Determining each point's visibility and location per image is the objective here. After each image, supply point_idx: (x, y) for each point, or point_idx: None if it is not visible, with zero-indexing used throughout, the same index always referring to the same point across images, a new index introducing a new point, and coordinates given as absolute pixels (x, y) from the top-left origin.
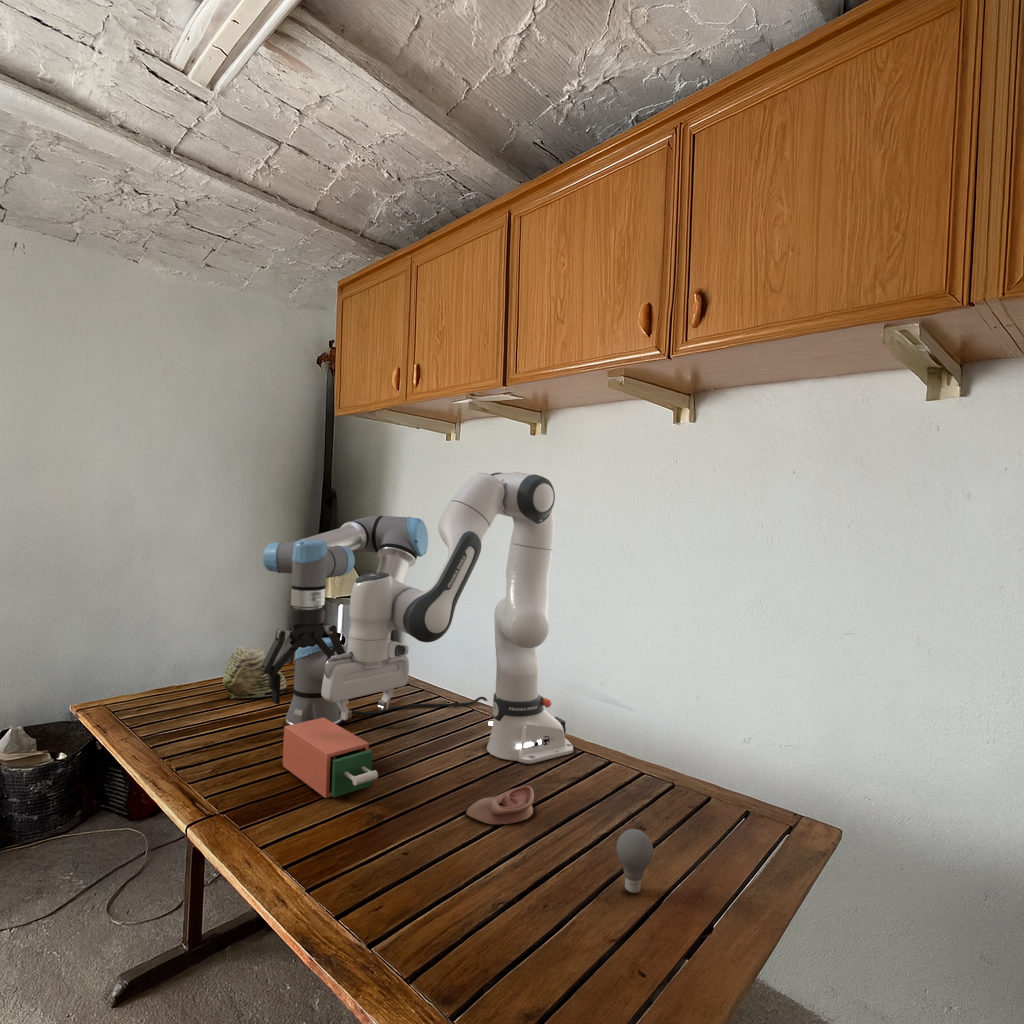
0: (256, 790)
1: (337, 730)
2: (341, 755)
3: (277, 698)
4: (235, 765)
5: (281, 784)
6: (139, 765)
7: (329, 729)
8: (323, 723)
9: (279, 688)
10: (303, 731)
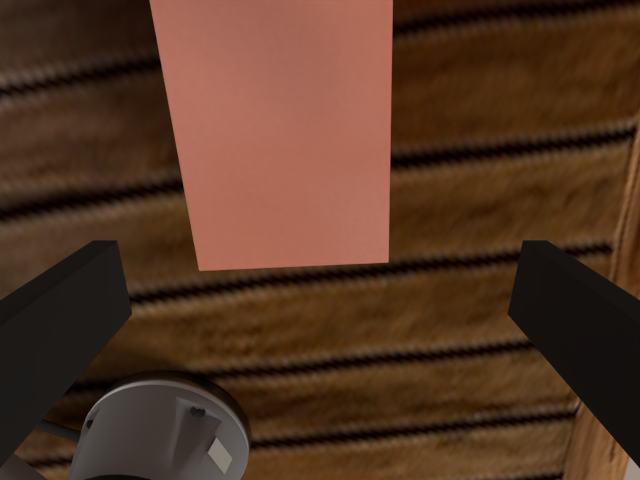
0: (507, 89)
1: (200, 67)
2: None
3: (564, 256)
4: (466, 288)
5: (429, 84)
6: None
7: (231, 106)
8: (227, 199)
9: (606, 295)
10: (347, 155)
